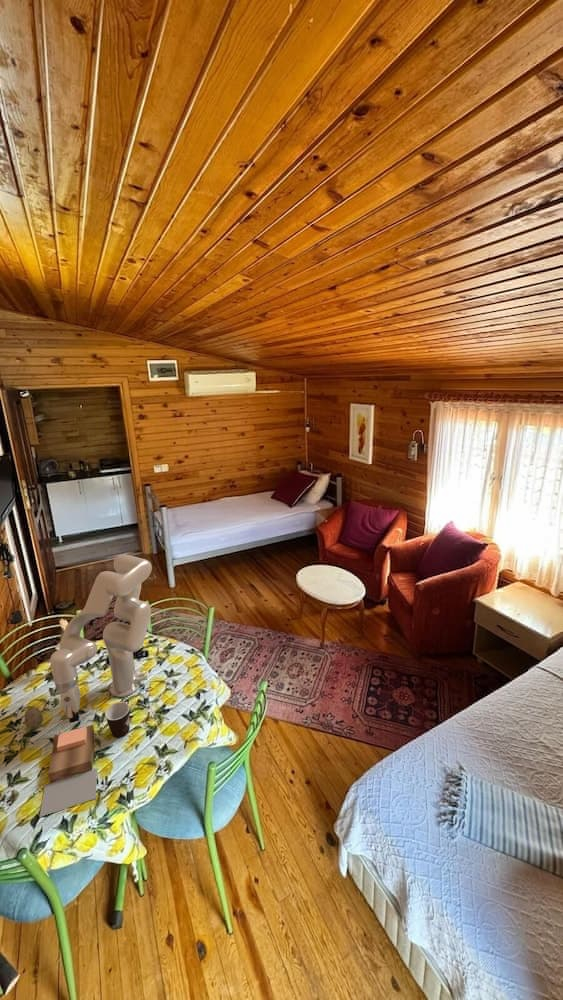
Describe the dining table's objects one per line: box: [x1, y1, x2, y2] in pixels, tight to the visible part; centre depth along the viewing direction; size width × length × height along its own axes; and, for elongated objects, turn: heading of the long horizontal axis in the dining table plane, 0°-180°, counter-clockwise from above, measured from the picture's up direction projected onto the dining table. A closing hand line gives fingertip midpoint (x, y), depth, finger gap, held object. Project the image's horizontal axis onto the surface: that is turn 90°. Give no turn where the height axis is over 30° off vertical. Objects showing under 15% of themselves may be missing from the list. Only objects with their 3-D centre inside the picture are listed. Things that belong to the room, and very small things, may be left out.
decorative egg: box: [24, 705, 44, 731], centre depth 156 cm, size 6×6×10 cm
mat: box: [39, 768, 98, 818], centre depth 133 cm, size 16×11×1 cm
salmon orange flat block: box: [57, 726, 87, 752], centre depth 147 cm, size 9×6×2 cm, turn 111°
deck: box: [47, 724, 96, 784], centre depth 145 cm, size 13×16×4 cm
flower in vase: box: [51, 618, 80, 676], centre depth 184 cm, size 13×11×25 cm
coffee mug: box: [104, 698, 131, 739], centre depth 156 cm, size 12×9×10 cm
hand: (74, 720), depth 155 cm, fingers closed
